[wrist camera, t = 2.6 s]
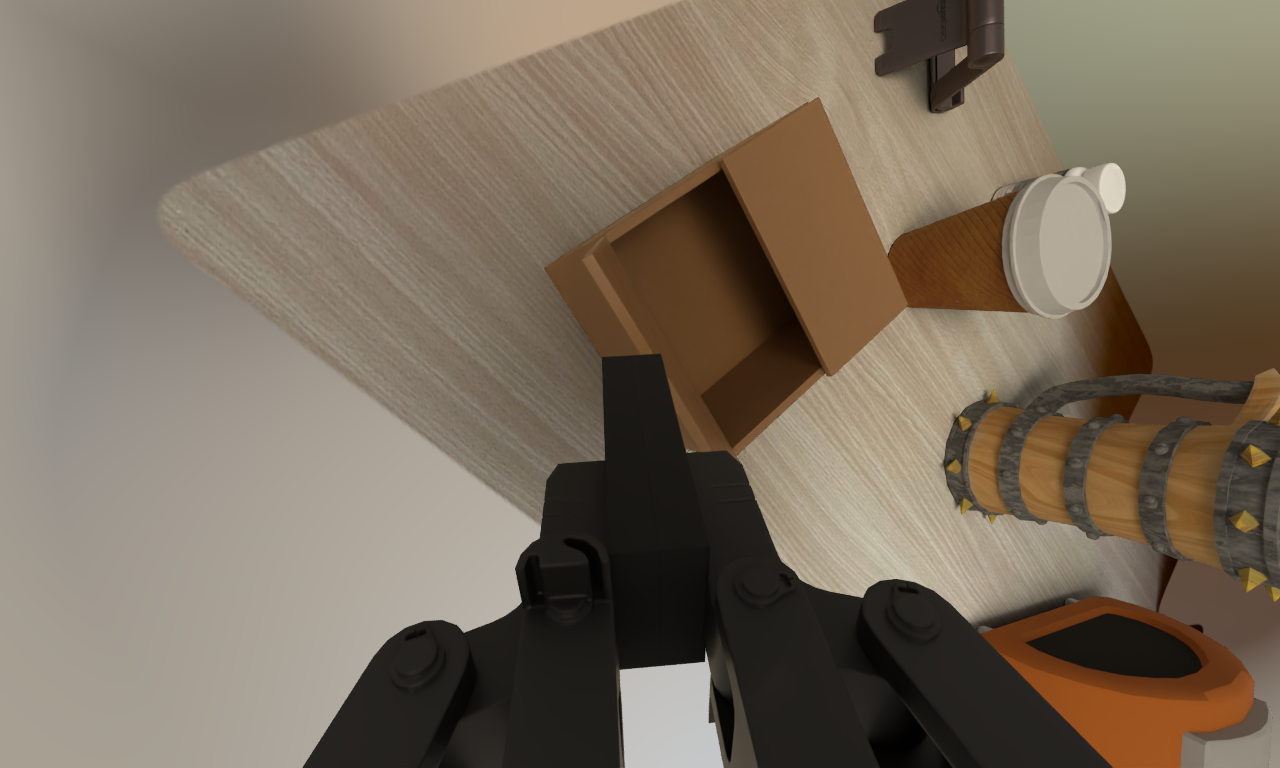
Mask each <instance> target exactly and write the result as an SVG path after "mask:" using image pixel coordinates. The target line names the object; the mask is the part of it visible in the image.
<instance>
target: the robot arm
mask: <svg viewBox="0 0 1280 768" xmlns="http://www.w3.org/2000/svg"><path fill="white" fill-rule="evenodd" d="M602 373H603V405H604V438H605V461H591V462H577V463H562V464H558V465H557V467H556V468H555V470H554V471H553V472H552V474H551V475H550V477H549V478H548V479H547V482H546V491H545V503H544V507H543V518H542V524H541V532H540V539H538V540H536V541H534V542H532V543H531V544H530V545H529V547H528V548H527V549H526V550H525V551H524V552H523V553H522V554H521V555H520V558H519V560H518V563H517V565H516V568H515V570H516V575H517V580H518V585H519V590H520V595H521V600H522V603H521V604H520V605H519V606H518V607H517V608H516V609H514V610H513V611H512V612H510V613H509V614H507V615H506V616H504V617H502V618H500V619H498V620H496V621H494V622H492V623H489V624H486V625H484V626H481V627H478V628H476V629H473V630H470V631H468V632H465V633H463V632H462V630H461V629H460V628H459V627H458V626H457V625H454V624H452V623H449V622H446V621H443V620H436V621H423V622H421V623H418V624H415V625H412V626H409V627H407V628H405V629H403V630H402V631H400V632H399V633H397V634H396V635H394V636H393V637H392V638H390V639H389V640H387V642H386V643H385V644H384V645H383V646H382V647H381V648H380V650H379V651H378V652H377V653H376V654H375V655H374V657H373V659H372V660H371V662H370V663H369V665H368V666H367V668H366V669H365V671H364V672H363V674H362V675H361V677H360V679H359V680H358V682H357V683H356V685H355V686H354V688H353V690H352V691H351V693H350V694H349V696H348V698H347V699H346V700H345V702H344V704H343V705H342V707H341V708H340V710H339V711H338V713H337V715H336V716H335V718H334V719H333V721H332V722H331V724H330V726H329V727H328V729H327V730H326V732H325V733H324V735H323V737H322V738H321V740H320V741H319V743H318V744H317V746H316V747H315V749H314V750H313V752H312V754H311V755H310V757H309V758H308V760H307V761H306V763H305V765H304V766H303V768H625V765H624V764H625V763H624V743H623V723H622V703H621V691H620V671H619V670H621V669H632V668H643V667H653V666H665V665H676V664H687V663H698V662H705V648H706V652H707V657H708V662H709V667H710V672H711V679H710V698H709V723H713V722H715V724H716V729H717V734H718V740H719V745H720V750H721V756H722V761H723V766H724V768H1113V767H1112V766H1111V765H1110V764H1109V763H1108V762H1107V761H1106V760H1105V759H1104V758H1103V757H1102V756H1101V755H1100V754H1099V753H1098V752H1097V751H1096V750H1095V749H1094V748H1093V747H1092V746H1091V745H1090V744H1089V743H1088V742H1087V741H1086V740H1085V739H1084V738H1083V737H1082V736H1081V735H1080V734H1079V733H1078V732H1077V731H1076V730H1075V729H1074V728H1073V727H1072V726H1071V725H1070V724H1069V723H1068V722H1067V721H1066V720H1065V719H1064V718H1063V717H1062V716H1061V715H1060V714H1059V713H1058V712H1057V711H1056V710H1055V709H1054V708H1053V707H1052V706H1051V705H1050V704H1049V703H1048V702H1047V701H1046V700H1045V699H1044V698H1043V697H1042V695H1041V694H1040V693H1039V692H1038V691H1037V690H1036V689H1035V688H1034V687H1033V686H1032V685H1031V684H1030V683H1029V682H1028V681H1027V680H1026V679H1025V678H1024V677H1023V676H1022V675H1021V674H1020V673H1019V672H1018V671H1017V670H1016V669H1015V668H1014V667H1013V666H1012V665H1011V664H1010V663H1009V662H1008V661H1007V660H1006V659H1005V658H1004V657H1003V656H1002V655H1001V654H1000V653H999V652H998V651H997V650H996V649H995V648H994V647H993V646H992V645H991V644H990V643H989V642H988V641H987V640H986V639H985V638H984V637H983V636H982V635H981V634H980V633H979V632H978V631H977V630H976V629H975V628H974V627H973V626H972V625H971V624H970V623H969V622H968V621H967V620H966V619H965V618H964V617H963V616H962V615H961V614H960V613H959V612H958V611H957V610H956V609H955V608H954V607H953V606H952V605H951V604H950V603H949V602H947V601H946V600H945V599H943V598H942V597H941V596H940V595H938V594H937V593H936V592H934V591H933V590H931V589H928V588H926V587H924V586H922V585H920V584H917V583H915V582H910V581H904V580H899V579H892V580H884V581H879V582H877V583H876V584H874V585H872V586H871V587H869V588H868V589H867V591H866V593H865V595H864V597H863V598H860V597H855V596H850V595H845V594H840V593H834V592H829V591H826V590H822V589H819V588H815V587H813V586H811V585H809V584H807V583H805V582H803V581H801V580H800V579H799V578H798V576H797V575H796V573H795V572H794V571H793V570H792V569H790V568H789V567H788V566H786V565H785V564H784V563H782V561H781V560H780V558H779V556H778V554H777V552H776V549H775V546H774V544H773V541H772V539H771V536H770V534H769V531H768V529H767V526H766V524H765V521H764V519H763V516H762V514H761V511H760V509H759V506H758V504H757V501H756V500H755V496H754V493H753V491H752V488H751V486H749V481H748V478H747V476H746V473H745V471H744V468H743V466H742V464H741V463H740V462H739V461H738V460H737V459H735V458H734V457H733V456H732V455H731V454H730V453H729V452H728V451H727V450H723V451H709V452H695V453H686V450H685V446H684V442H683V438H682V434H681V430H680V426H679V422H678V418H677V415H676V411H675V407H674V403H673V399H672V395H671V391H670V387H669V383H668V379H667V375H666V371H665V367H664V363H663V360H662V356H661V354H644V355H628V356H612V357H602Z"/></svg>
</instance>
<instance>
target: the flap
mask: <svg viewBox="0 0 1280 768" xmlns="http://www.w3.org/2000/svg"><path fill="white" fill-rule="evenodd" d="M582 262H583V263H584V265H585V267H586V268H587V270H588V271H589V273H590V275H591V276H592V278H593V279H594V281H595V283H596V284H597V286H598V288H599V289H600V291H601V292H602V294H603V296H604V297H605V299H606V300H607V302H608V304H609V305H610V307H611V309H612V310H613V312H614V313H615V315H616V317H617V318H618V320H619V321H620V323H621V325H622V326H623V328H624V329H625V331H626V333H627V334H628V336H629V338H630V339H631V341H632V342H633V344H634V346H635V347H636V349H637V350H638V352H639V354H640V355H644V354H661V356H662V360H663V363H664V367H665V371H666V375H667V379H668V383H669V387H670V391H671V395H672V399H673V403H674V407H675V411H676V413H677V415H678V417H679V418H680V420H681V421H682V423H683V425H684V426H685V428H686V429H687V431H688V433H689V434H690V436H691V437H692V439H693V441H694V442H695V444H696V446H697V447H698V449H699V450H700V452H709V451H723V450H727V451H728V452H729V453H730V454H731V455H732V456H733V457H734V458H735V459H737V460H738V458H737V456H736V455H735V453H734V451H733V450H732V448H731V446H730V445H729V443H728V441H727V440H726V438H725V436H724V435H723V433H722V431H721V430H720V428H719V426H718V425H717V423H716V421H715V419H714V418H713V416H712V414H711V413H710V411H709V409H708V408H707V406H706V404H705V403H704V401H703V399H702V398H701V396H700V394H699V393H698V391H697V389H696V388H695V386H694V384H693V383H692V381H691V379H690V378H689V376H688V374H687V373H686V371H685V369H684V368H683V366H682V364H681V363H680V361H679V359H678V358H677V356H676V354H675V352H674V351H673V349H672V347H671V346H670V344H669V342H668V341H667V339H666V337H665V336H664V334H663V332H662V331H661V329H660V327H659V326H658V324H657V322H656V321H655V319H654V317H653V316H652V314H651V312H650V311H649V309H648V307H647V306H646V304H645V302H644V301H643V299H642V297H641V296H640V294H639V292H638V290H637V289H636V287H635V285H634V284H633V282H632V280H631V279H630V277H629V275H628V274H627V272H626V270H625V269H624V267H623V265H622V264H621V262H620V260H619V259H618V257H617V255H616V254H615V252H614V250H613V249H612V247H611V245H610V244H609V242H608V240H607V239H606V237H605V236H604V237H602V238H600V239H599V240H598V241H597V242H596V243H595V244H594V245H593V247H592V248H591V249H590V250H589V251H588V252H587V254H586V255H585V256H584V257H583V258H582ZM738 461H739V460H738ZM739 462H740V461H739Z"/></svg>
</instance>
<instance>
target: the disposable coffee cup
mask: <svg viewBox="0 0 1280 768" xmlns="http://www.w3.org/2000/svg"><path fill="white" fill-rule="evenodd" d="M1110 258H1111V229H1110V222H1109V217H1108V213H1107V210H1106V207H1105V204H1104V201H1103V199H1102V197H1101V195H1100V194H1099V192H1098V191H1097V189H1096V188H1095V186H1094V185H1092V184H1091V183H1090V182H1089V181H1087V180H1086V179H1085V178H1083V177H1080V176H1061V175H1058V174H1048V175H1044V176H1041V177H1038V178H1037V179H1036V180H1034V181H1033V182H1032V183H1031V184H1028V185H1026V186H1025V187H1024V188H1023V189H1022V190H1019V191H1016V192H1014V193H1011V194H1009V195H1006V196H1004V197H1001V198H998V199H996V200H993V201H990V202H988V203H985V204H983V205H980V206H977V207H975V208H972V209H969V210H967V211H964V212H961V213H959V214H956V215H953V216H951V217H948V218H946V219H943V220H941V221H938V222H935V223H933V224H930V225H927V226H925V227H922V228H920V229H917V230H914V231H912V232H909V233H906V234H903V235H902V236H900V237H899V238H898V239H897V240H896V241H895V242H894V244H893V246H892V247H891V250H890V252H889V256H888V259H889V261H890V264H891V266H892V268H893V271H894V273H895V275H896V278H897V280H898V282H899V284H900V287H901V289H902V291H903V294H904V296H905V298H906V301H907V303H908V306H907V307H911V308H937V309H956V310H958V309H960V310H980V311H1004V312H1030V313H1031V314H1035V315H1039V316H1041V317H1044V318H1048V319H1054V318H1061V317H1064V316H1066V315H1067V314H1069V313H1070V312H1072V311H1076V310H1080V309H1083V308H1086V307H1087V306H1089V305H1090V304H1091V303H1092V302H1093V301H1094V300H1095V299H1096V298H1097V297H1098V295H1099V293H1100V291H1101V289H1102V288H1103V285H1104V283H1105V280H1106V278H1107V274H1108V270H1109V265H1110Z"/></svg>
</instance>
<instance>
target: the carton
mask: <svg viewBox="0 0 1280 768" xmlns="http://www.w3.org/2000/svg"><path fill="white" fill-rule="evenodd" d="M604 236H605V237H606V239H607V240H608V242H609V244H610V245H611V247H612V249H613V250H614V252H615V254H616V255H617V257H618V259H619V260H620V262H621V264H622V265H623V267H624V269H625V270H626V272H627V274H628V275H629V277H630V279H631V280H632V282H633V284H634V285H635V287H636V289H637V290H638V292H639V294H640V296H641V297H642V299H643V301H644V302H645V304H646V306H647V307H648V309H649V311H650V312H651V314H652V316H653V317H654V319H655V321H656V322H657V324H658V326H659V327H660V329H661V331H662V332H663V334H664V336H665V337H666V339H667V341H668V342H669V344H670V346H671V347H672V349H673V351H674V352H675V354H676V356H677V358H678V359H679V361H680V363H681V364H682V366H683V368H684V369H685V371H686V373H687V374H688V376H689V378H690V379H691V381H692V383H693V384H694V386H695V388H696V389H697V391H698V393H699V394H700V396H701V398H702V399H703V401H704V403H705V404H706V406H707V408H708V409H709V411H710V413H711V414H712V416H713V418H714V419H715V421H716V423H717V425H718V426H719V428H720V430H721V431H722V433H723V435H724V436H725V438H726V440H727V441H728V443H729V445H730V446H731V448H732V450H733V451H734V453H735V455H738V454H739V453H740V452H741V451H742V450H743V449H744V448H745V447H746V446H747V445H748V444H749V443H750V442H752V441H753V440H754V439H755V438H756V437H757V436H758V435H759V434H760V433H761V432H762V431H763V430H765V429H766V428H767V427H768V426H769V425H770V424H771V423H772V422H773V421H774V420H775V419H776V418H777V417H779V416H780V415H781V414H782V413H783V412H784V411H785V410H786V409H787V408H788V407H789V406H790V405H792V404H793V403H794V402H795V401H796V400H797V399H798V398H799V397H800V396H801V395H802V394H803V393H804V392H806V391H807V390H808V389H809V388H810V387H811V386H812V385H813V384H814V383H815V382H816V381H817V380H819V379H820V378H821V377H822V376H823V375H824V374H825V373H826V375H827V376H833V375H834V374H835V373H836V372H837V371H838V370H839V369H841V368H842V367H843V366H844V365H845V364H846V363H847V362H848V361H849V360H850V359H851V358H852V357H853V356H854V355H855V354H857V353H858V352H859V351H860V350H861V349H862V348H863V347H864V346H865V345H866V344H867V343H868V342H869V341H870V340H872V339H873V338H874V337H875V336H876V335H877V334H878V333H879V332H880V331H881V330H882V329H883V328H884V327H885V326H886V325H888V324H889V323H890V322H891V321H892V320H893V319H894V318H895V317H896V316H897V315H898V314H899V313H900V312H901V311H903V310H904V309H905V308H906V307H907V306H908V303H907V301H906V298H905V296H904V294H903V291H902V289H901V287H900V284H899V282H898V280H897V278H896V275H895V273H894V271H893V268H892V266H891V264H890V261H889V259H888V257H887V254H886V252H885V250H884V247H883V245H882V243H881V240H880V238H879V236H878V233H877V231H876V229H875V226H874V224H873V222H872V219H871V217H870V215H869V212H868V210H867V208H866V205H865V203H864V201H863V198H862V196H861V194H860V191H859V189H858V187H857V184H856V182H855V180H854V177H853V175H852V173H851V171H850V168H849V166H848V164H847V161H846V159H845V157H844V154H843V152H842V150H841V147H840V145H839V143H838V140H837V138H836V136H835V133H834V131H833V129H832V126H831V124H830V122H829V119H828V117H827V115H826V112H825V110H824V108H823V105H822V103H821V101H820V98H819V97H817V98H816V99H814V100H812V101H811V102H809V103H808V102H807V103H805V104H804V105H802V106H800V107H799V108H797V109H795V110H794V111H792V112H790V113H789V114H787V115H785V116H783V117H782V118H780V119H778V120H777V121H775V122H773V123H772V124H770V125H768V126H767V127H765V128H763V129H762V130H760V131H758V132H757V133H755V134H753V135H752V136H750V137H748V138H747V139H745V140H743V141H741V142H740V143H738V144H736V145H735V146H733V147H731V148H730V149H728V150H726V151H725V152H723V153H721V154H720V155H718V156H716V157H715V158H713V159H712V160H710V161H709V162H707V163H706V164H704V165H703V166H701V167H699V168H698V169H696V170H695V171H693V172H692V173H690V174H689V175H687V176H685V177H684V178H682V179H681V180H679V181H678V182H676V183H675V184H673V185H671V186H670V187H668V188H667V189H665V190H664V191H662V192H661V193H659V194H657V195H656V196H654V197H653V198H651V199H650V200H648V201H647V202H645V203H644V204H642V205H640V206H639V207H637V208H636V209H634V210H633V211H631V212H630V213H628V214H626V215H625V216H623V217H622V218H620V219H619V220H617V221H616V222H614V223H612V224H611V225H609V226H608V227H606V228H605V229H603V230H602V231H600V232H598V233H597V234H595V235H594V236H592V237H591V238H589V239H588V240H586V241H584V242H583V243H581V244H580V245H578V246H577V247H575V248H574V249H572V250H571V251H569V252H567V253H566V254H564V255H563V256H561V257H560V258H558V259H557V260H555V261H553V262H552V263H550V264H549V265H547V266H546V267H544V269H545V270H546V272H547V274H548V275H549V277H550V278H551V280H552V281H553V283H554V284H555V286H556V287H557V289H558V291H559V292H560V294H561V295H562V297H563V298H564V300H565V301H566V303H567V304H568V306H569V308H570V309H571V311H572V312H573V314H574V315H575V317H576V318H577V320H578V321H579V323H580V325H581V326H582V328H583V329H584V331H585V332H586V334H587V335H588V337H589V338H590V340H591V342H592V343H593V345H594V346H595V348H596V349H597V351H598V352H599V354H600V355H601V357H612V356H628V355H640V354H639V352H638V350H637V349H636V347H635V346H634V344H633V342H632V341H631V339H630V338H629V336H628V334H627V333H626V331H625V329H624V328H623V326H622V325H621V323H620V321H619V320H618V318H617V317H616V315H615V313H614V312H613V310H612V309H611V307H610V305H609V304H608V302H607V300H606V299H605V297H604V296H603V294H602V292H601V291H600V289H599V288H598V286H597V284H596V283H595V281H594V279H593V278H592V276H591V275H590V273H589V271H588V270H587V268H586V267H585V265H584V263H583V262H582V258H583V257H584V256H585V255H586V254H587V252H588V251H589V250H590V249H591V248H592V247H593V245H594V244H595V243H596V242H597V241H598V240H599V239H600V238H602V237H604ZM676 415H677V413H676ZM677 418H678V422H679V426H680V430H681V434H682V438H683V442H684V446H685V448H686V449H690V450H693V451H696V452H700V450H699V449H698V447H697V446H696V444H695V442H694V441H693V439H692V437H691V436H690V434H689V433H688V431H687V429H686V428H685V426H684V425H683V423H682V421H681V420H680V418H679V417H678V415H677Z"/></svg>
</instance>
